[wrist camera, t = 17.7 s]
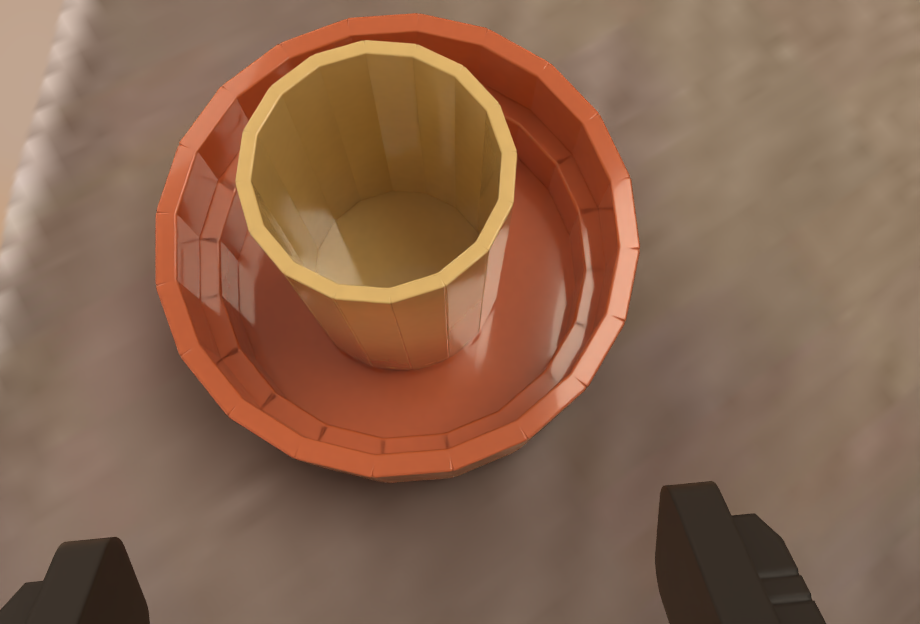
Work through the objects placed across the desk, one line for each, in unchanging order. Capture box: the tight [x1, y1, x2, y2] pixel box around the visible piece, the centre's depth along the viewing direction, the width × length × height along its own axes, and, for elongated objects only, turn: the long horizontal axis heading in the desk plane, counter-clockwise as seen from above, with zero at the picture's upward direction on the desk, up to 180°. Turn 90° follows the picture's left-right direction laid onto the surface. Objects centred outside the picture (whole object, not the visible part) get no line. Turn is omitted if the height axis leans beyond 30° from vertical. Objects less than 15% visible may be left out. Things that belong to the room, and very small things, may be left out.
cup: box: [235, 40, 517, 371], centre depth 23 cm, size 6×6×9 cm
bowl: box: [156, 13, 640, 483], centre depth 26 cm, size 13×13×5 cm
